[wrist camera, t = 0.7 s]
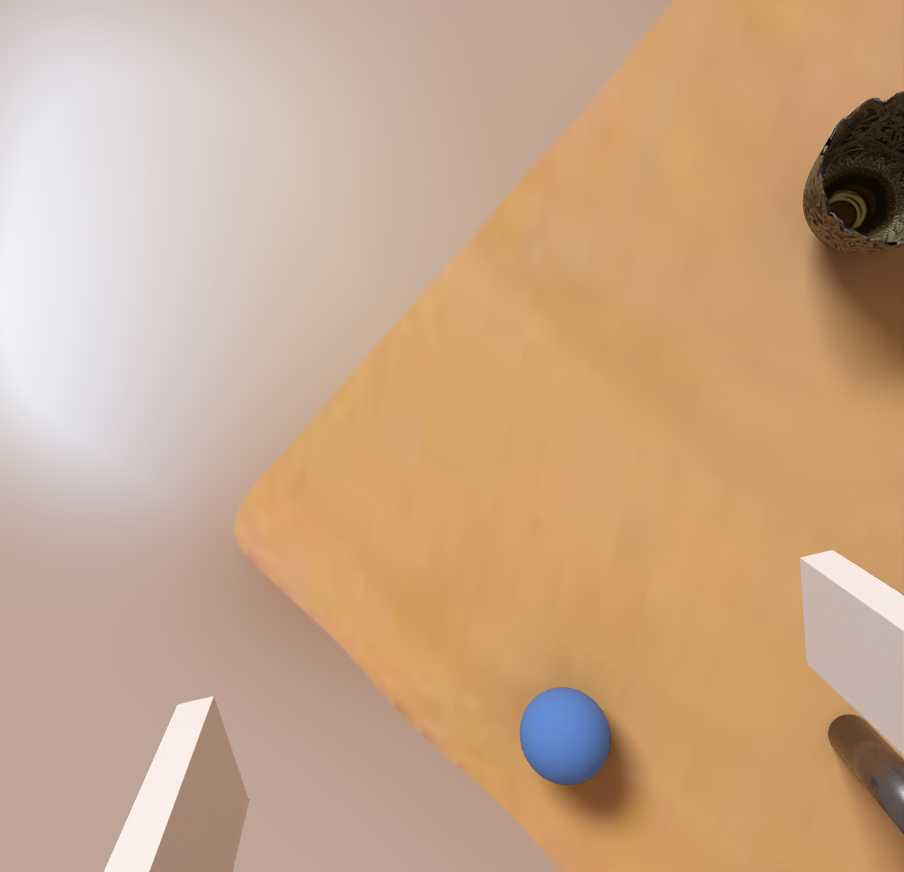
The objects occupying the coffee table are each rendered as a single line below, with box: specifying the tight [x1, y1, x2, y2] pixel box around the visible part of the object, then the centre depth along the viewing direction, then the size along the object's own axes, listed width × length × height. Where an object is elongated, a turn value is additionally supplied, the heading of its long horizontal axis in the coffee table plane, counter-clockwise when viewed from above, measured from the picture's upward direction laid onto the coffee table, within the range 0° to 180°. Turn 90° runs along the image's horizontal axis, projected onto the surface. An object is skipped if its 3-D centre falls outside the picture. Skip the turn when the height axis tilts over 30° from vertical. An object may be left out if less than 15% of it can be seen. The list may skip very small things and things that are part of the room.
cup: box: [803, 91, 904, 254], centre depth 38 cm, size 8×7×8 cm
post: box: [828, 715, 904, 834], centre depth 37 cm, size 2×2×9 cm
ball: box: [520, 688, 611, 785], centre depth 42 cm, size 6×6×6 cm
